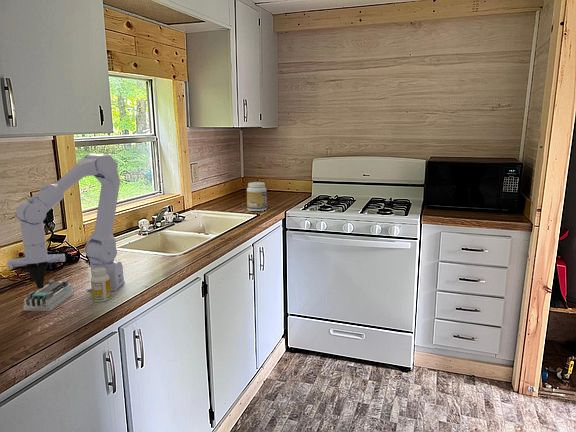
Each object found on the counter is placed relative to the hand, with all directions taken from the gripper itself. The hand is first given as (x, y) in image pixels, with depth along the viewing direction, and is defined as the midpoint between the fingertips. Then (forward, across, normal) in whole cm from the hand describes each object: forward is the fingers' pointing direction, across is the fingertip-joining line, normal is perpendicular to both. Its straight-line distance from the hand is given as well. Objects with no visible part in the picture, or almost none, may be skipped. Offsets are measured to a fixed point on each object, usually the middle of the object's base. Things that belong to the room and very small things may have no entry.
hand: (40, 287), depth 129 cm
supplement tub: (+7, -106, -108) cm, 151 cm away
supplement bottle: (+6, -16, +1) cm, 18 cm away
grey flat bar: (+3, -2, -3) cm, 5 cm away
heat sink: (+6, -2, -3) cm, 7 cm away
